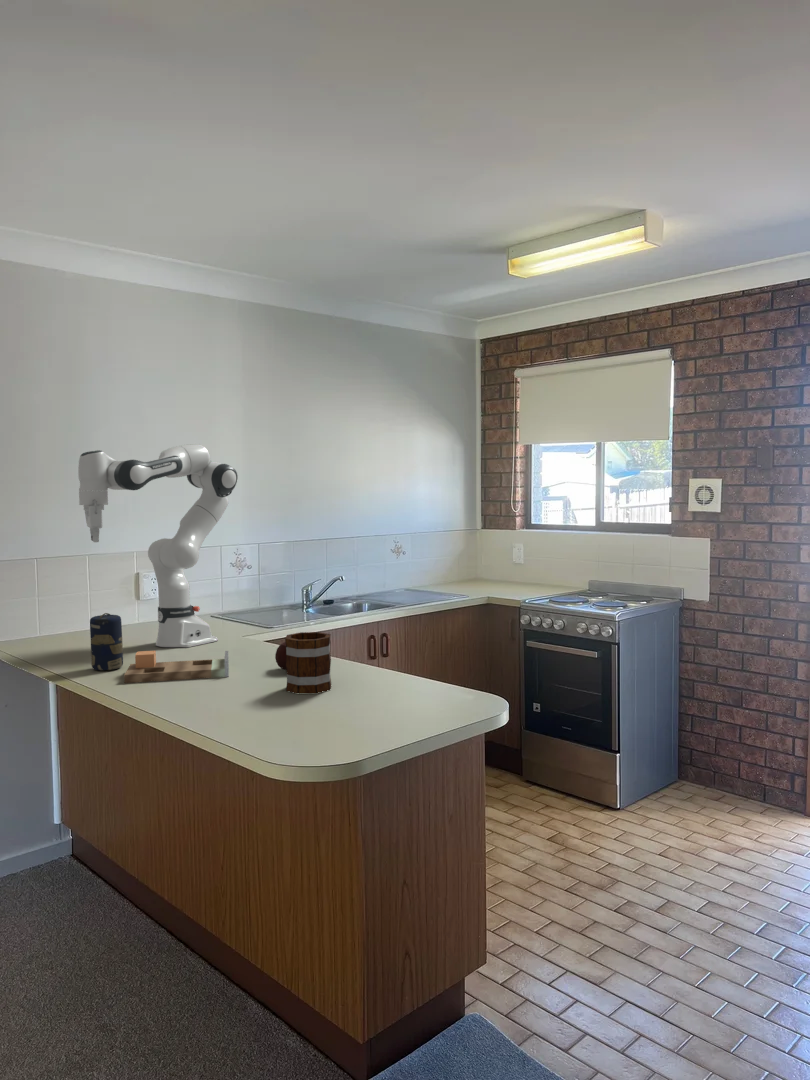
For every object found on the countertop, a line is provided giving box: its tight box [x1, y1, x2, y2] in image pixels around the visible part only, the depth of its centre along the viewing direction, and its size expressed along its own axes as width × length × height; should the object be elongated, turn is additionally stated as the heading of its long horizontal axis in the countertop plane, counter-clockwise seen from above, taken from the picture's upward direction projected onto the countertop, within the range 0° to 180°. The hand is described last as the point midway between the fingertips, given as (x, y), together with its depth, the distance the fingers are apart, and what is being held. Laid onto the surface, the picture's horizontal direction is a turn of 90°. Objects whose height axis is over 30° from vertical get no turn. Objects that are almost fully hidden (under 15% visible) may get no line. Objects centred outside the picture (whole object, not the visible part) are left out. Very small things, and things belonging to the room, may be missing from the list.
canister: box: [89, 612, 124, 671], centre depth 252 cm, size 10×10×18 cm
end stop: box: [224, 650, 230, 678], centre depth 247 cm, size 1×15×5 cm, turn 12°
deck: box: [123, 658, 226, 684], centre depth 243 cm, size 29×15×2 cm, turn 102°
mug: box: [284, 631, 332, 694], centre depth 227 cm, size 20×14×15 cm
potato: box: [274, 641, 286, 671], centre depth 247 cm, size 9×12×9 cm
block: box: [134, 650, 157, 668], centre depth 245 cm, size 6×6×4 cm
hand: (94, 541), depth 261 cm, fingers open, 8 cm apart
